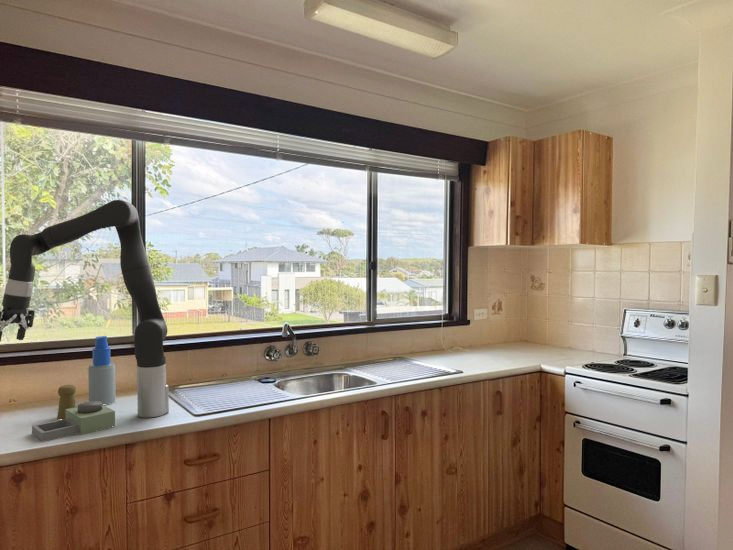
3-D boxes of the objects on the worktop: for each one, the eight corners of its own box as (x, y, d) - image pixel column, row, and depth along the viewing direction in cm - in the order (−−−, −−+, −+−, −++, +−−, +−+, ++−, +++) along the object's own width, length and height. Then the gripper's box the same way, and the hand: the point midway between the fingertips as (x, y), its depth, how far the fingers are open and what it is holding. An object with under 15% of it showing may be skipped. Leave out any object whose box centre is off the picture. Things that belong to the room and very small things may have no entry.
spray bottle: (104, 398, 194) (103, 334, 194) (120, 400, 191) (120, 335, 190) (83, 404, 186) (82, 337, 186) (99, 407, 183) (98, 339, 182)
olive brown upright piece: (81, 414, 174) (80, 383, 174) (71, 420, 168) (70, 387, 167) (63, 414, 174) (62, 383, 173) (53, 420, 168) (52, 387, 167)
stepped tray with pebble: (98, 417, 171) (98, 397, 170) (115, 426, 161) (114, 404, 161) (30, 432, 156) (29, 410, 156) (44, 443, 146) (43, 419, 146)
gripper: (8, 295, 160) (-3, 345, 160) (45, 295, 173) (35, 341, 173) (-11, 290, 161) (-21, 340, 161) (27, 291, 175) (18, 336, 175)
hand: (8, 340), depth 167 cm, fingers open, 8 cm apart
